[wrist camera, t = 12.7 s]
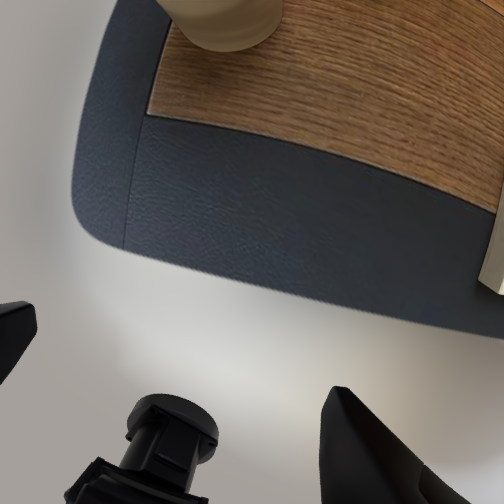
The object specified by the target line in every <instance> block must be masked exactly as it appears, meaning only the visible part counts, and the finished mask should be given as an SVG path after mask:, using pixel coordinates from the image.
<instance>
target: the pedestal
mask: <svg viewBox="0 0 504 504" xmlns="http://www.w3.org/2000/svg"><path fill="white" fill-rule="evenodd" d="M156 1H157V2H158V3H159V4H160V5H161V7H162V8H163V9H164V10H165V12H166V13H167V14H168V15H169V16H170V18H171V19H172V20H173V21H174V23H175V24H176V25H177V26H178V27H179V29H180V30H181V31H182V33H183V34H184V35H185V36H186V37H187V38H188V40H190V41H191V42H192V43H194V44H195V45H197V46H199V47H201V48H203V49H207V50H210V51H216V52H233V51H240V50H244V49H247V48H250V47H252V46H255V45H257V44H259V43H260V42H262V41H264V40H265V39H266V38H268V37H269V36H270V35H271V34H272V33H273V32H274V31H275V29H276V28H277V27H278V25H279V23H280V21H281V19H282V16H283V0H156Z"/></svg>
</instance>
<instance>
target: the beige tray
mask: <svg viewBox="0 0 504 504" xmlns="http://www.w3.org/2000/svg"><path fill="white" fill-rule="evenodd" d="M478 280H479V281H480V282H482V283H483V284H485V285H486V286H488V287H489V288H491V289H492V290H493V291H495V292H496V293H498V294H501V295H504V181H503V187H502V192H501V197H500V202H499V206H498V211H497V215H496V219H495V223H494V227H493V231H492V235H491V239H490V242H489V246H488V249H487V252H486V256H485V259H484V262H483V265H482V268H481V271H480V274H479V277H478Z"/></svg>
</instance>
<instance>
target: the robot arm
mask: <svg viewBox="0 0 504 504" xmlns="http://www.w3.org/2000/svg"><path fill="white" fill-rule="evenodd" d="M36 333H37V321H36V313H35V308H34V306H33V305H32V304H30V303H28V302H26V301H18V302H11V303H6V304H0V385H1V384H2V382H3V381H4V380H5V379H6V377H7V376H8V375H9V373H10V372H11V371H12V369H13V368H14V367H15V365H16V364H17V362H18V361H19V359H20V358H21V356H22V355H23V353H24V351H25V350H26V348H27V347H28V345H29V344H30V342H31V341H32V339H33V338H34V337H35V335H36ZM125 437H126V439H127V440H128V441H130V442H131V443H130V446H129V447H128V449H127V451H126V453H125V455H124V457H123V459H122V461H121V463H120V465H119V467H117V466H115V465H113V464H111V463H109V462H107V461H105V460H104V459H102V458H101V457H97V458H96V460H95V461H94V462H91V464H90V465H89V466H88V467H87V469H86V470H85V471H84V472H83V474H82V475H81V476H80V477H79V479H78V480H77V481H76V482H75V483H74V485H73V486H72V487H71V488H69V489H68V490H67V491H66V492H65V494H64V498H65V501H66V504H208V501H209V499H208V498H205V497H198V496H194V495H191V494H189V490H190V487H191V483H192V480H193V476H194V473H195V469H196V466H197V462H198V461H199V460H201V459H202V458H203V457H205V456H206V455H207V454H208V453H210V452H211V451H212V450H213V449H215V448H216V447H217V445H218V440H217V439H215V438H213V437H211V436H210V435H208V434H206V433H204V432H202V431H200V430H198V429H197V428H195V427H193V426H191V425H189V424H188V423H186V422H184V421H182V420H181V419H179V418H177V417H175V416H174V415H172V414H170V413H169V412H167V411H165V410H164V409H162V408H161V407H159V406H157V405H155V404H150V405H149V406H148V407H147V409H146V410H145V411H144V413H143V414H142V415H141V416H140V418H139V419H138V420H137V421H136V423H135V424H134V425H133V426H132V428H131V429H130V430H129V431H128V433H127V434H126V436H125ZM319 470H320V485H321V502H322V504H471V503H470V502H468V501H467V500H466V499H464V498H463V497H462V496H460V495H459V494H458V493H456V492H455V491H454V490H453V489H452V488H450V487H449V486H448V485H447V484H445V483H444V482H443V481H442V480H441V479H440V478H439V477H438V476H437V475H436V474H435V473H433V472H432V471H431V470H430V469H429V468H428V467H427V466H426V465H424V463H423V462H422V461H421V460H420V459H419V458H418V457H417V456H416V455H415V454H414V453H413V452H412V451H411V450H410V449H409V448H407V446H406V445H405V444H404V443H403V442H402V441H401V440H400V439H399V438H397V436H396V435H394V434H393V433H392V432H391V431H390V430H389V429H388V428H387V427H386V426H385V425H384V424H383V423H382V422H381V421H380V420H379V419H378V418H377V417H376V416H375V415H374V414H373V413H372V412H371V411H370V410H369V409H368V407H367V406H366V405H364V403H362V402H361V400H360V399H359V398H358V397H357V396H356V395H355V394H353V392H352V391H350V389H348V388H347V387H340V386H334V387H332V389H331V390H330V392H329V395H328V397H327V399H326V402H325V403H324V406H323V408H322V412H321V430H320V449H319Z"/></svg>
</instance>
